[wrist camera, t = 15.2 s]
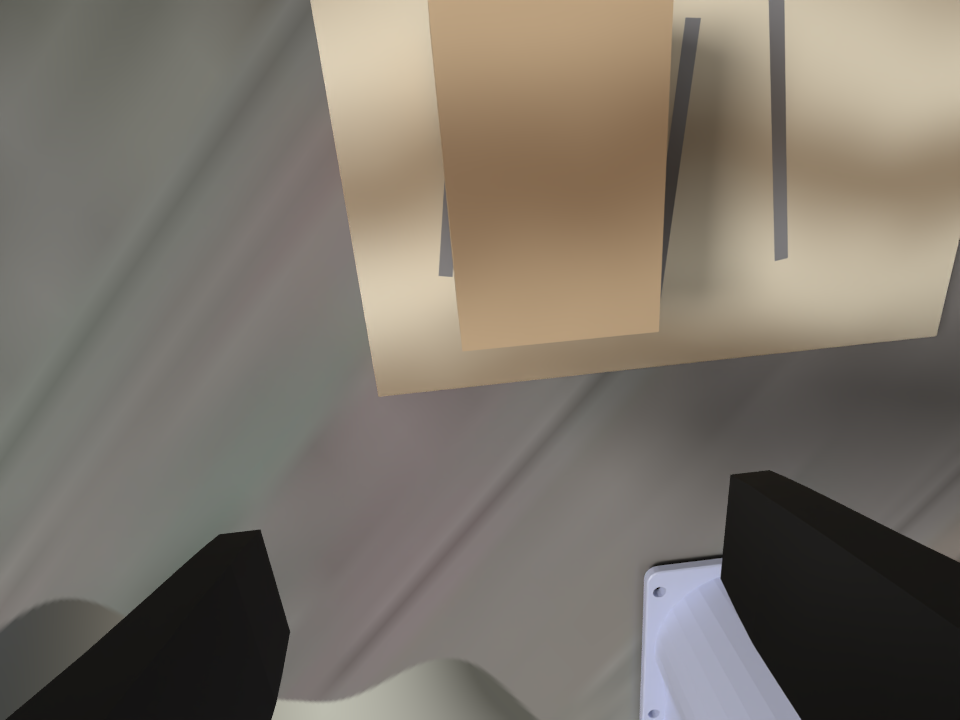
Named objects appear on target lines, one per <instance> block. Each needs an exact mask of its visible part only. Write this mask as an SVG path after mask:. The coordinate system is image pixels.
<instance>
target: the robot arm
mask: <svg viewBox="0 0 960 720" xmlns="http://www.w3.org/2000/svg"><path fill="white" fill-rule="evenodd" d="M658 587H660V588H659V589H656V588H658ZM655 589H656V590H655ZM289 634H290V630H289V627H288V623H287V620H286V616H285V613H284V609H283V606H282V602H281V599H280V596H279V592H278V589H277V585H276V582H275V578H274V575H273V571H272V568H271V565H270V561H269V558H268V554H267V551H266V547H265V544H264V540H263V537H262V534H261V530H253V531H244V532H236V533H227V534H219V535H218V536H217V537H216V538H214V539H213V540H212V541H211V542H209V543H208V544H207V545H206V546H205V547H203V548H202V549H201V550H200V551H199V552H198V553H196V554H195V555H194V556H193V557H192V558H191V559H190V560H188V561H187V562H186V563H185V564H184V565H183V566H182V567H181V568H179V569H178V570H177V571H176V572H175V573H174V574H173V575H172V576H171V577H169V578H168V579H167V580H166V581H165V582H164V583H163V584H162V585H161V586H159V587H158V588H157V589H156V590H155V591H154V592H153V593H152V594H151V595H150V596H148V597H147V598H146V599H145V600H144V601H143V602H142V603H141V604H139V605H138V606H137V607H136V608H135V609H134V610H133V611H132V612H130V613H129V614H128V615H127V616H126V617H125V618H124V619H123V620H121V621H120V622H119V623H118V624H117V625H116V626H115V627H114V628H113V629H111V630H110V631H109V632H108V633H107V634H106V635H105V636H104V637H102V638H101V639H100V640H99V641H98V642H97V643H96V644H95V645H93V646H92V647H91V648H90V649H89V650H88V651H87V652H86V653H84V654H83V655H82V656H81V657H80V658H78V659H77V660H76V661H75V662H74V663H72V664H71V665H70V666H69V667H68V668H67V669H65V670H64V671H63V672H62V673H61V674H59V675H58V676H57V677H56V678H55V679H53V680H52V681H51V682H50V683H49V684H47V685H46V686H45V687H44V688H43V689H41V690H40V691H39V692H38V693H37V694H36V695H34V696H33V697H32V698H31V699H30V700H28V701H27V702H26V703H25V704H24V705H22V707H20V708H19V709H18V710H16V711H15V712H14V713H13V714H12V715H10V716H9V717H8V718H7V719H6V720H271V718H272V715H273V712H274V709H275V705H276V702H277V697H278V692H279V687H280V682H281V677H282V673H283V667H284V662H285V656H286V651H287V645H288V640H289ZM640 720H960V563H959V562H957V561H955V560H953V559H951V558H949V557H947V556H945V555H943V554H941V553H938V552H936V551H934V550H932V549H930V548H928V547H926V546H924V545H922V544H920V543H918V542H916V541H914V540H912V539H910V538H908V537H906V536H904V535H902V534H900V533H898V532H896V531H894V530H892V529H890V528H888V527H886V526H884V525H882V524H880V523H878V522H876V521H874V520H872V519H870V518H868V517H866V516H864V515H862V514H860V513H858V512H856V511H854V510H852V509H850V508H848V507H846V506H844V505H842V504H840V503H838V502H836V501H834V500H832V499H830V498H828V497H826V496H824V495H822V494H820V493H818V492H816V491H814V490H812V489H810V488H808V487H805V486H803V485H801V484H799V483H797V482H795V481H793V480H791V479H788V478H786V477H784V476H782V475H779V474H777V473H775V472H772V471H770V470H768V471H759V472H750V473H742V474H733V475H731V476H730V486H729V496H728V506H727V516H726V526H725V536H724V547H723V557H722V558H718V559H710V560H702V561H694V562H685V563H677V564H669V565H661V566H655V567H652V568H650V569H649V570H648V571H647V572H646V573H645V577H644V602H643V632H642V663H641V693H640Z"/></svg>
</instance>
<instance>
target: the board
mask: <svg viewBox="0 0 960 720" xmlns="http://www.w3.org/2000/svg"><path fill="white" fill-rule="evenodd" d="M310 1H311V6H312V12H313V18H314V24H315V30H316V36H317V41H318V47H319V53H320V59H321V65H322V70H323V76H324V82H325V88H326V94H327V99H328V105H329V111H330V117H331V123H332V129H333V134H334V140H335V146H336V152H337V158H338V163H339V169H340V175H341V181H342V187H343V193H344V198H345V204H346V210H347V216H348V222H349V227H350V233H351V239H352V245H353V251H354V256H355V262H356V268H357V274H358V280H359V286H360V291H361V297H362V303H363V309H364V315H365V320H366V326H367V332H368V338H369V344H370V350H371V355H372V361H373V367H374V373H375V379H376V384H377V390H378V396H379V397H381V396H390V395H399V394H408V393H417V392H427V391H436V390H445V389H454V388H463V387H473V386H482V385H491V384H500V383H509V382H519V381H528V380H537V379H546V378H555V377H565V376H574V375H583V374H592V373H601V372H611V371H620V370H629V369H638V368H647V367H657V366H666V365H675V364H684V363H693V362H703V361H712V360H721V359H730V358H739V357H749V356H758V355H767V354H776V353H785V352H795V351H804V350H813V349H822V348H831V347H841V346H850V345H859V344H868V343H877V342H887V341H896V340H905V339H914V338H923V337H933V336H936V335H937V331H938V327H939V323H940V319H941V314H942V310H943V306H944V302H945V298H946V293H947V289H948V285H949V281H950V276H951V272H952V268H953V264H954V260H955V255H956V251H957V247H958V243H959V239H960V0H674V1H673V24H672V46H671V69H670V91H669V114H668V136H667V159H666V182H665V204H664V227H663V249H662V272H661V294H660V317H659V332H652V333H642V334H632V335H622V336H613V337H603V338H593V339H583V340H573V341H563V342H553V343H543V344H533V345H523V346H513V347H503V348H493V349H483V350H473V351H463V352H462V343H461V335H460V327H459V318H458V310H457V301H456V291H455V281H454V271H453V260H452V250H451V240H450V230H449V220H448V210H447V200H446V190H445V179H444V169H443V159H442V149H441V139H440V129H439V119H438V109H437V98H436V88H435V78H434V68H433V58H432V48H431V38H430V26H429V13H428V0H310Z"/></svg>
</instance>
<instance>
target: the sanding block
mask: <svg viewBox="0 0 960 720" xmlns="http://www.w3.org/2000/svg"><path fill="white" fill-rule="evenodd" d="M673 1H674V0H428V13H429V26H430V38H431V48H432V58H433V68H434V78H435V88H436V98H437V109H438V119H439V129H440V139H441V149H442V159H443V169H444V179H445V190H446V200H447V210H448V220H449V230H450V240H451V250H452V260H453V271H454V281H455V291H456V301H457V310H458V318H459V327H460V335H461V343H462V352H463V351H473V350H483V349H493V348H503V347H513V346H523V345H533V344H543V343H553V342H563V341H573V340H583V339H593V338H603V337H613V336H622V335H632V334H642V333H652V332H659V317H660V294H661V272H662V249H663V227H664V204H665V182H666V159H667V136H668V114H669V91H670V69H671V46H672V24H673Z"/></svg>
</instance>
